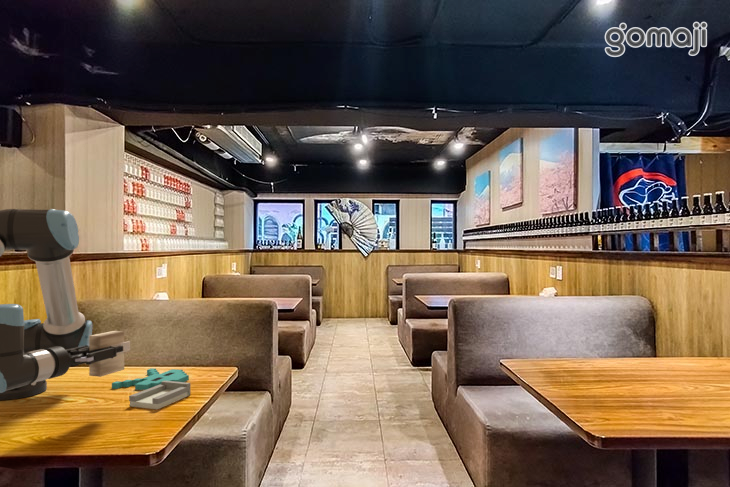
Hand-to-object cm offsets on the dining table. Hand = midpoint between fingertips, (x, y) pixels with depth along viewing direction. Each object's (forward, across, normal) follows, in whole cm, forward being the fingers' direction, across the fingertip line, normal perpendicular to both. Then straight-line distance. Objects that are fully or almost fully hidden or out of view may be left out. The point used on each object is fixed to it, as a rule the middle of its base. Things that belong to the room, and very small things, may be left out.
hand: (122, 345), depth 136 cm
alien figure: (+25, -10, -19) cm, 32 cm away
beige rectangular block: (-5, 0, -7) cm, 9 cm away
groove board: (+8, +7, -18) cm, 21 cm away
